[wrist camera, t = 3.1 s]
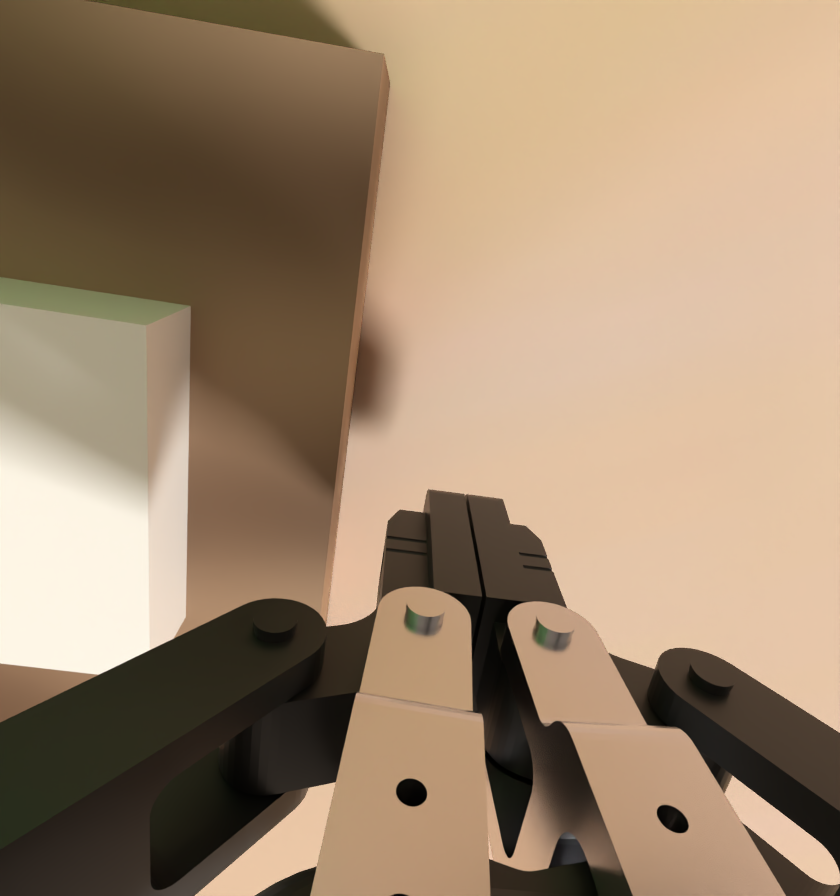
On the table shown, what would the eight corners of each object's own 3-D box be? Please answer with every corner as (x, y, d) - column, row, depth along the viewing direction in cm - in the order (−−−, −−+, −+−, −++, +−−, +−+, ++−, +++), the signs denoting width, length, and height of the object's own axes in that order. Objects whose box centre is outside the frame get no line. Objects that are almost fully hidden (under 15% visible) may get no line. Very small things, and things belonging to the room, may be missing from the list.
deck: (-360, -50, 11) (-560, -116, 9) (390, 82, 12) (383, 54, 10) (-183, 645, 17) (-278, 714, 15) (317, 702, 18) (302, 776, 16)
